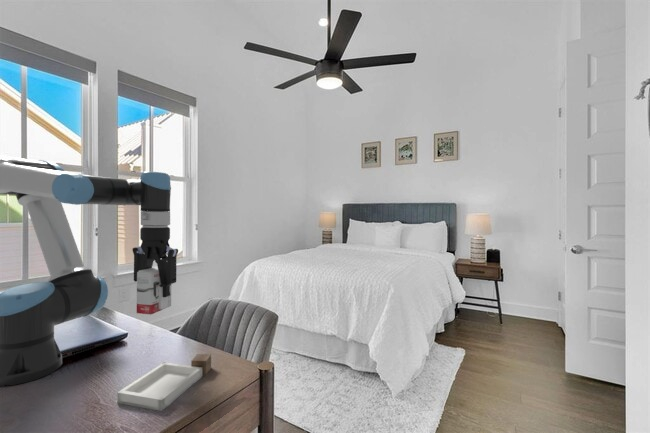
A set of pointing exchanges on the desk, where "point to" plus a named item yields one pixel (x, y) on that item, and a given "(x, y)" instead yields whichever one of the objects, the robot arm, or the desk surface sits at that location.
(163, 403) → the parts tray
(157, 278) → the ink box
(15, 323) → the robot arm
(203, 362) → the block
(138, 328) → the desk surface
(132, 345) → the desk surface
